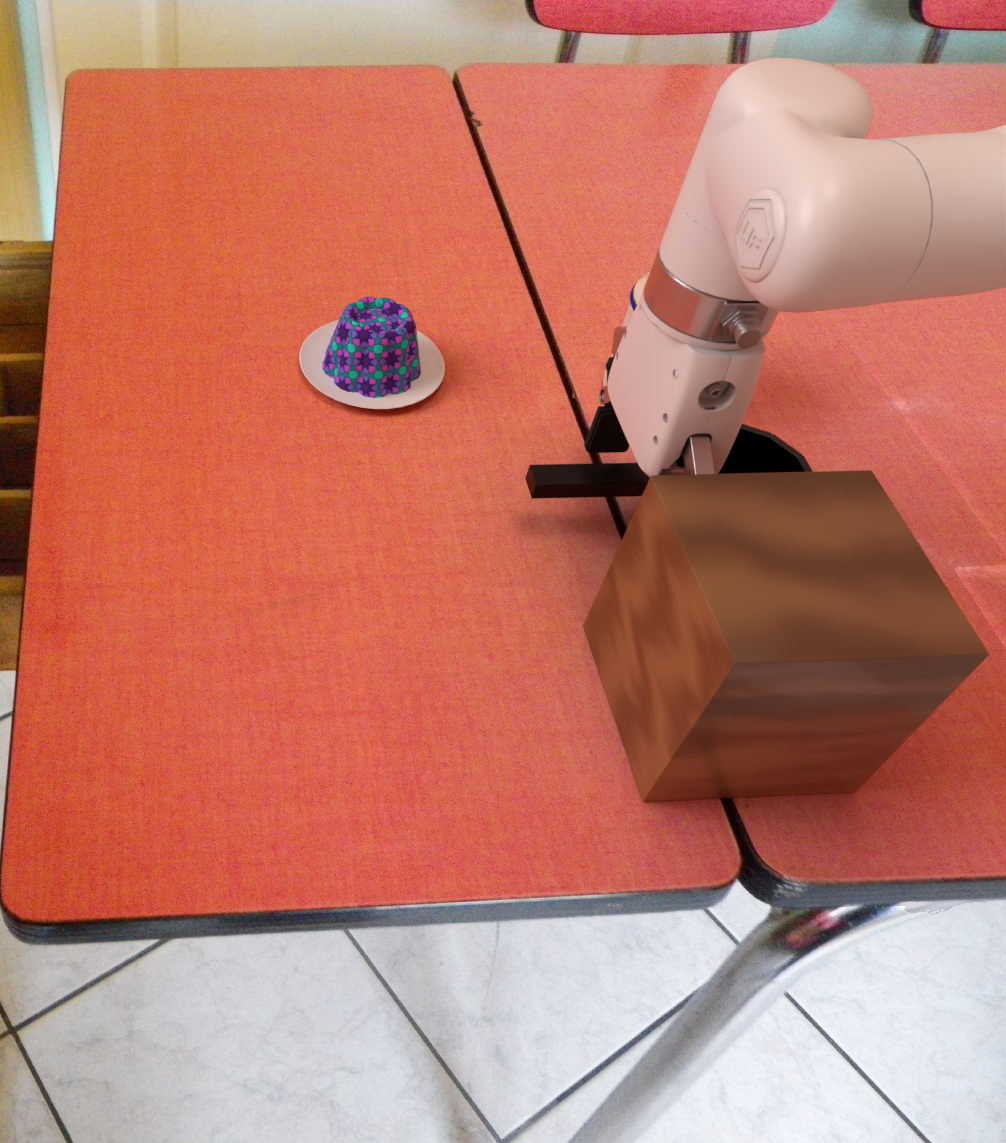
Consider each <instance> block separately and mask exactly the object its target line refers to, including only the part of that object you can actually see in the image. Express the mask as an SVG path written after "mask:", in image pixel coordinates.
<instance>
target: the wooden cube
mask: <svg viewBox="0 0 1006 1143" xmlns="http://www.w3.org/2000/svg"><path fill="white" fill-rule="evenodd" d="M582 626H583V630H584V633H585V636H586V640H587V642H588V645H589V647H590V650H591V654H592V656H593V659H594V663H595V665H596V669H597V671H598V675H599V678H600V680H601V683H602V685H603V688H604V692H605V694H606V697H607V701H608V703H609V706H610V710H611V712H612V715H613V719H614V721H615V723H616V724H615V725H616V727H617V730H618V733H619V736H620V739H621V741H622V745H623V747H624V750H625V754H626V757H627V759H628V763H629V765H630V768H631V771H632V774H633V777H634V780H635V783H636V785H637V789H638V791H639V794H640V797H641V800H642V802H644V803H645V802H663V801H664V802H665V801H666V802H667V801H685V800H686V801H687V800H707V799H708V800H712V799H735V798H757V797H777V796H778V797H780V796H801V795H802V796H804V795H822V794H824V795H826V794H847V793H856V792H857V791H859V789H860V788H861V787H862V786H863V785H864V784H865V783H866V782H867V781H868V780H869V779H870V778H871V777H872V776H873V775H874V774H875V773H876V772H877V771H878V770H879V769H880V768H881V767H882V766H883V765H884V764H885V763H886V762H887V761H888V760H889V758H890V757H891V756H893V754H894V753H895V752H896V751H897V750H898V749H899V748H900V747H902V745H903V744H904V743H905V742H906V741H907V740H909V738H910V737H911V736H912V735H913V734H914V733H915V732H916V731H917V730H918V729H919V728H920V727H921V726H922V725H923V723H924V722H925V721H926V720H928V719H929V718H930V716H931V715H933V714H934V712H935V711H936V710H937V709H938V708H939V707H940V706H941V705H942V704H943V703H944V702H945V701H946V700H947V699H948V698H949V697H950V696H951V695H952V694H953V693H954V692H955V691H956V690H957V689H958V688H959V687H960V686H961V685H962V683H964V682H965V681H966V680H967V678H969V676H971V675H972V674H973V672H974V671H975V670H976V669H977V668H978V667H979V666H980V665H981V664H982V663H983V662H984V661H985V660H986V659H987V658H988V657H989V656H990V652H989V651H988V649H987V648H986V646H985V644H984V643H983V642H982V640H981V639H980V637H979V635H978V634H977V631H976V630H975V629H974V627H973V626H972V624H971V623H970V621H969V620H968V618H967V617H966V614H965V613H964V612H963V610H962V608H961V607H960V605H959V604H958V602H957V601H956V599H955V598H954V596H953V595H952V593H951V592H950V590H949V588H948V586H946V584H945V582H944V581H943V579H942V578H941V576H940V574H939V573H938V571H937V569H936V568H935V567H934V565H933V564H932V562H931V560H930V559H929V557H928V555H927V554H926V553H925V551H924V549H923V548H922V546H921V545H920V543H919V542H918V540H917V539H916V537H915V535H914V534H913V532H912V530H911V529H910V528H909V526H908V524H907V523H906V522H905V520H904V518H903V517H902V515H901V513H900V512H899V511H898V508H896V506H895V505H894V503H893V501H892V500H891V498H890V497H889V495H888V494H887V492H886V491H885V489H884V487H883V485H882V484H881V483H880V481H879V479H878V478H877V476H876V475H875V473H874V472H873V470H871V469H869V470H868V469H867V470H866V469H865V470H829V471H828V470H826V471H825V470H824V471H813V472H778V473H736V474H694V475H652V476H651V477H650V479H649V481H648V484H647V486H646V488H645V490H644V492H643V495H642V496H640V499H639V501H638V504H637V506H636V507H635V510H634V513H633V514H632V517H631V518H630V521H629V523H628V526H627V528H626V529H625V532H624V533H623V537H622V539H621V541H620V543H619V545H618V547H617V549H616V551H615V554H614V556H613V559H612V561H611V562H610V565H609V567H608V570H607V572H606V574H605V576H604V577H603V580H602V582H601V585H600V587H599V589H598V591H597V594H596V596H595V597H594V601H593V602H592V605H591V607H590V608H589V611H588V613H587V615H586V618H585V619H584V622H583V625H582Z"/></svg>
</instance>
